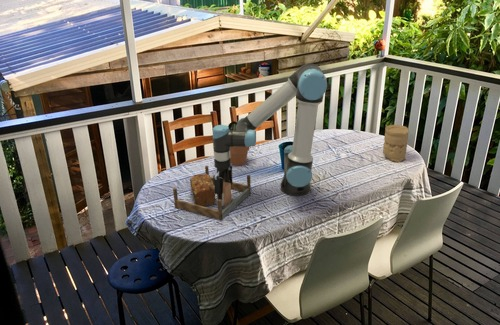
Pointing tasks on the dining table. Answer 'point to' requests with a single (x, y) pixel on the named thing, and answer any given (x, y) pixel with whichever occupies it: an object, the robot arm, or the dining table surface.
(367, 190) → the dining table surface
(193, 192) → the bread
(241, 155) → the potted plant
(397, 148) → the container
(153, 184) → the dining table surface
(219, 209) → the bay
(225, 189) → the tan rectangular block
